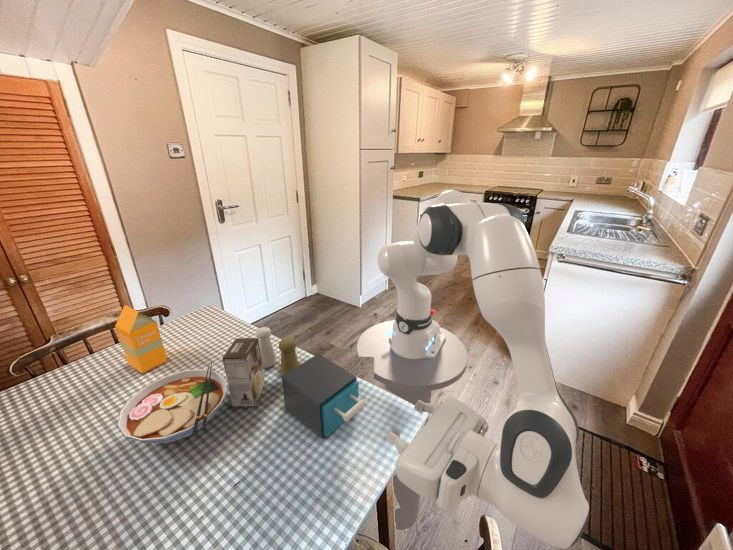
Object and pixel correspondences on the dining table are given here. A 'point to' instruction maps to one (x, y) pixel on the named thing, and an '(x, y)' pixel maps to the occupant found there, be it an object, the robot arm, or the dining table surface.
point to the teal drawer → (341, 408)
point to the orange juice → (140, 340)
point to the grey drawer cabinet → (313, 389)
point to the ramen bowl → (173, 406)
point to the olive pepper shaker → (288, 355)
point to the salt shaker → (266, 347)
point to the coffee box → (244, 371)
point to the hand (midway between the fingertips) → (403, 417)
